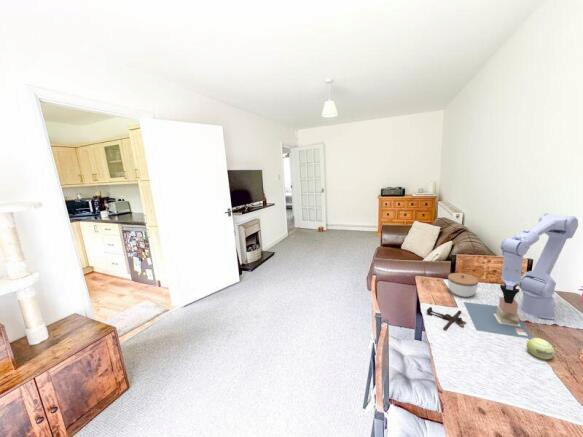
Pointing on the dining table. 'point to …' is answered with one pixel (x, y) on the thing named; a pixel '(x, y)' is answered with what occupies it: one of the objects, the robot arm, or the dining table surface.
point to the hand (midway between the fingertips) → (508, 298)
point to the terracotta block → (508, 306)
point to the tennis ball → (540, 348)
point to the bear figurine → (448, 318)
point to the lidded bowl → (462, 284)
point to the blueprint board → (494, 321)
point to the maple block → (507, 317)
